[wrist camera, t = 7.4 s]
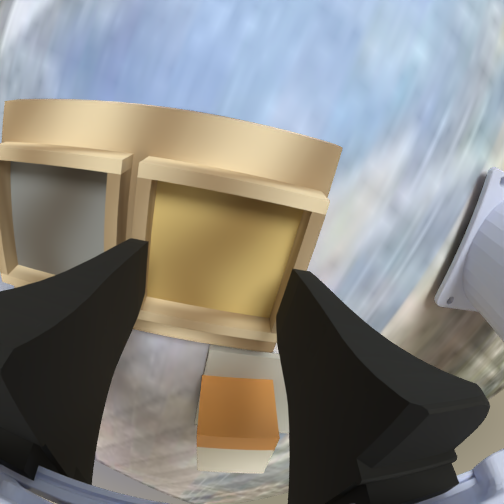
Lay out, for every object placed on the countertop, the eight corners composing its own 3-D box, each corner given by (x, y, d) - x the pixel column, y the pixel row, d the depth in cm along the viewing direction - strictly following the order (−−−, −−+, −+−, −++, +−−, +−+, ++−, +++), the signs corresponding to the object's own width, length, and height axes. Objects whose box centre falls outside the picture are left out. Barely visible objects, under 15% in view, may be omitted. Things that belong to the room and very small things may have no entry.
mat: (347, 359, 17) (349, 364, 16) (302, 429, 20) (303, 433, 20) (210, 344, 16) (209, 349, 15) (194, 420, 19) (194, 424, 19)
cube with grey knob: (279, 438, 13) (262, 474, 15) (272, 379, 17) (259, 424, 19) (196, 434, 13) (197, 471, 15) (202, 374, 16) (200, 421, 19)
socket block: (334, 143, 11) (353, 153, 9) (270, 339, 16) (274, 370, 14) (18, 99, 9) (-13, 103, 7) (24, 286, 14) (5, 309, 12)
